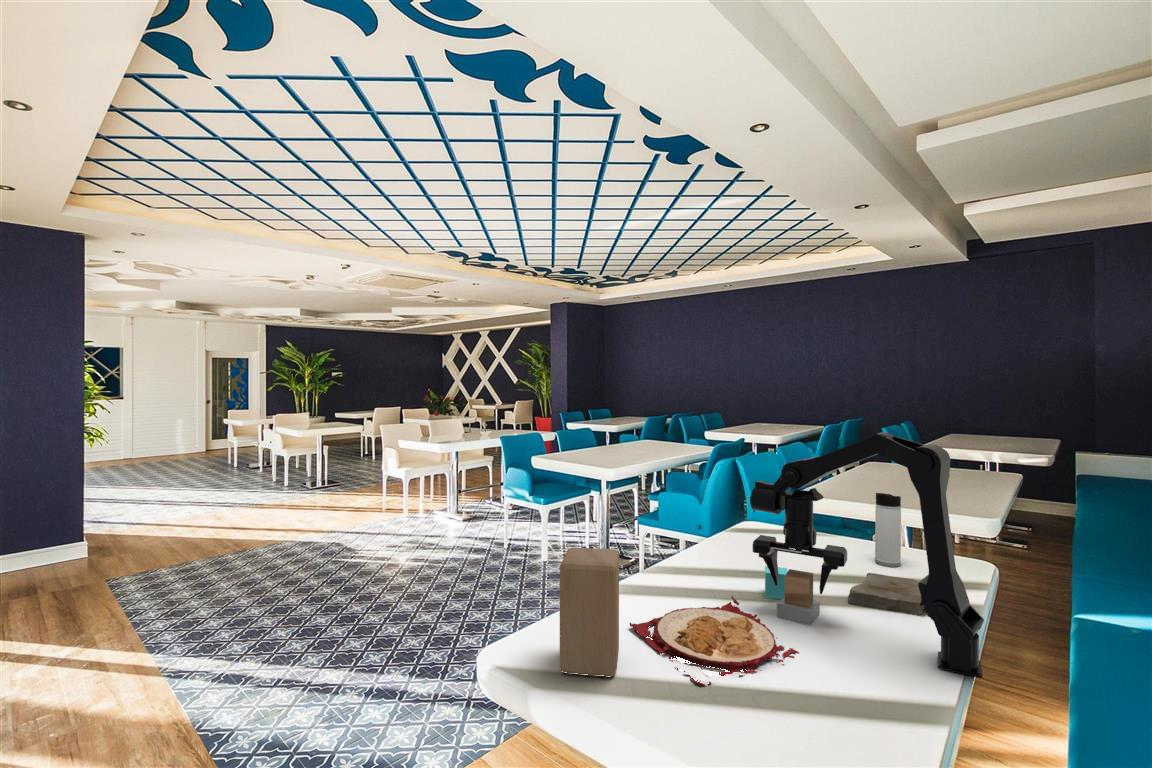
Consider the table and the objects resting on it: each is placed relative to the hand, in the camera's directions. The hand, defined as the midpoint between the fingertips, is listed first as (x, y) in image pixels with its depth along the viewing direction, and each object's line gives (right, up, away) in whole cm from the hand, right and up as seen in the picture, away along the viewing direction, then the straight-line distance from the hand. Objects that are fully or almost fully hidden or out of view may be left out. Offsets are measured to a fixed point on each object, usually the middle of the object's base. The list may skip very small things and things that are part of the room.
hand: (798, 589), depth 124 cm
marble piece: (+25, -7, +9) cm, 27 cm away
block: (-46, -7, -20) cm, 51 cm away
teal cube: (-1, -6, +12) cm, 14 cm away
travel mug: (+39, -6, +35) cm, 52 cm away
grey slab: (0, -6, 0) cm, 6 cm away
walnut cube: (0, -3, 0) cm, 3 cm away
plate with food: (-21, -7, -12) cm, 25 cm away
